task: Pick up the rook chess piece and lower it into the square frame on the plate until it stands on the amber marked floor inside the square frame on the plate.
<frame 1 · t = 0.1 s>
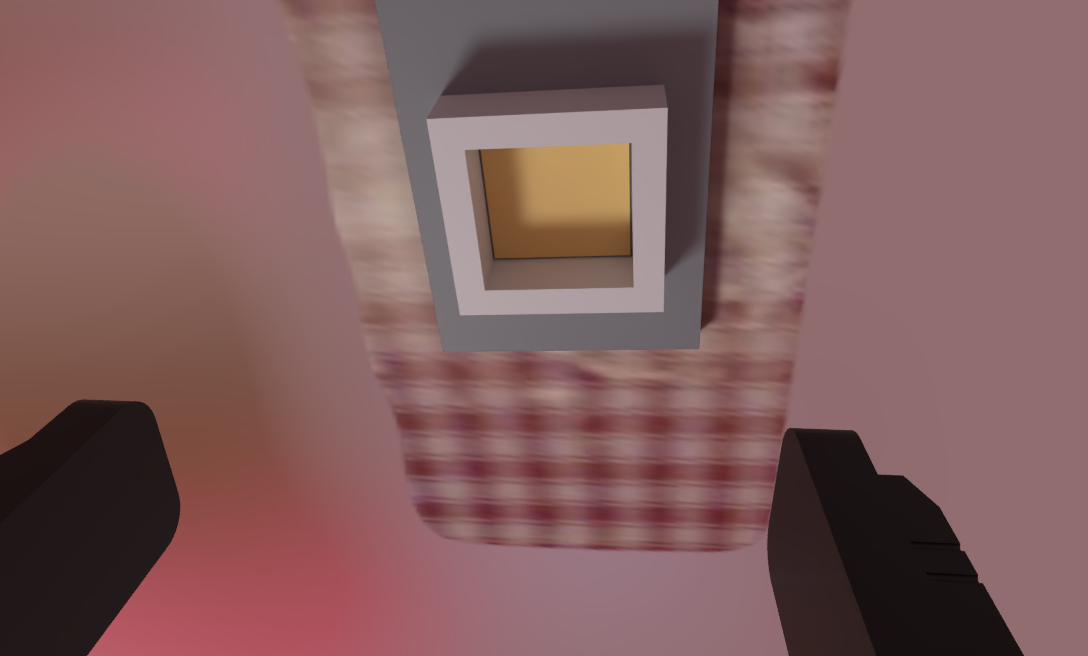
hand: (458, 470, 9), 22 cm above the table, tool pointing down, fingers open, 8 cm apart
square frame on plate: (559, 181, 31), on the table
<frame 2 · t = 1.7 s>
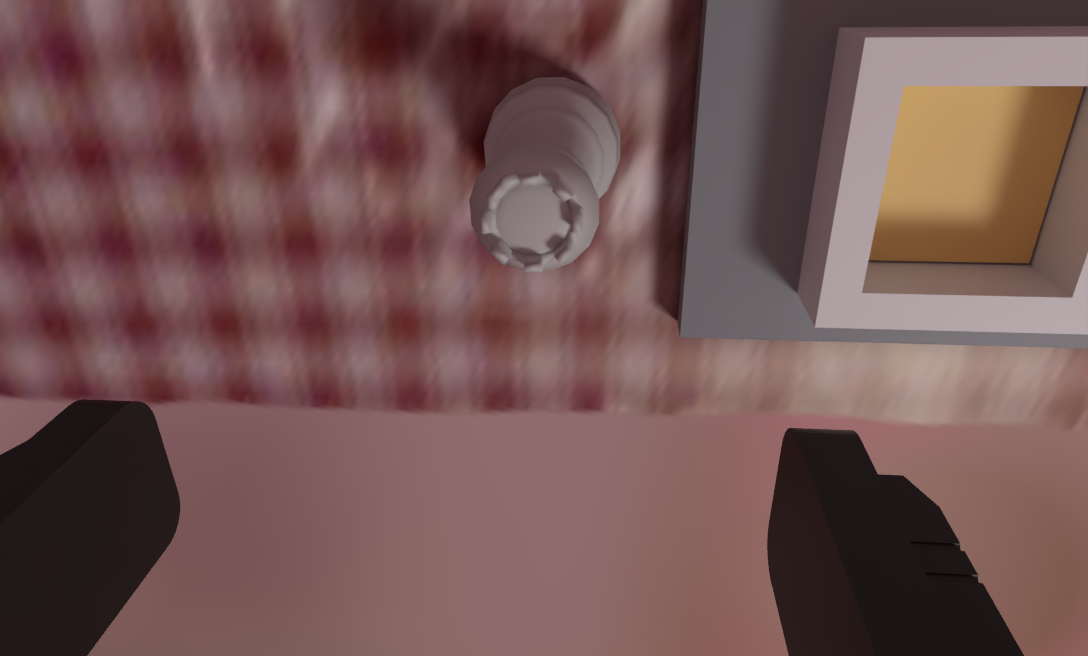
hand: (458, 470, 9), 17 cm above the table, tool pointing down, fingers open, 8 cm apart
rook chess piece: (554, 142, 25), on the table
square frame on plate: (941, 162, 24), on the table
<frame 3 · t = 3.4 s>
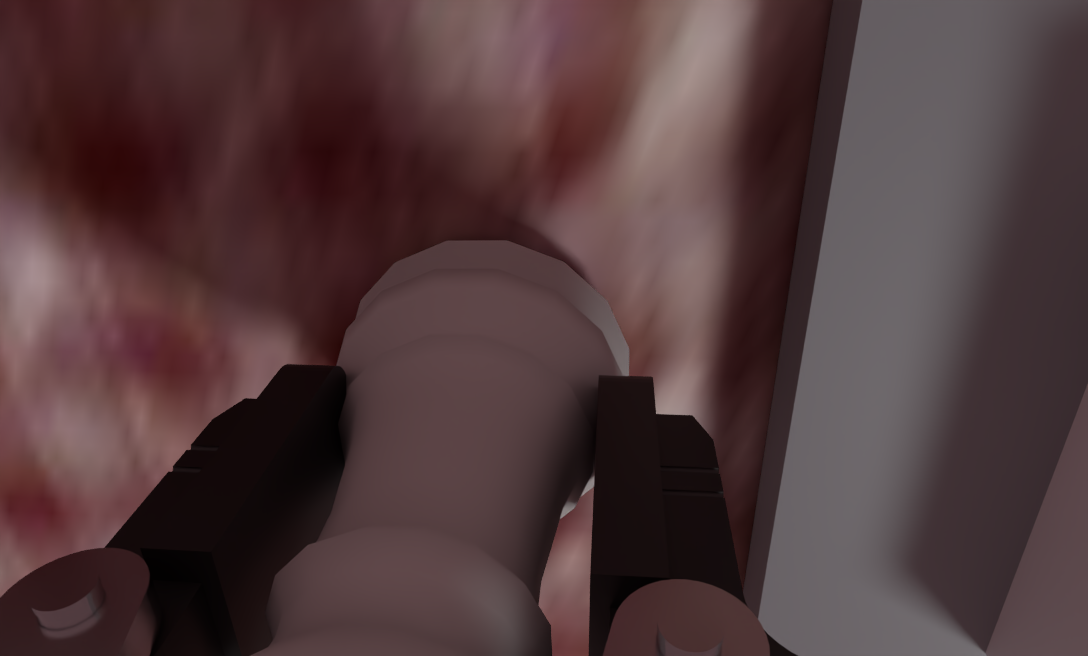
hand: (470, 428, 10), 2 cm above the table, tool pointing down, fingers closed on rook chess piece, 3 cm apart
rook chess piece: (494, 350, 12), on the table, touching gripper
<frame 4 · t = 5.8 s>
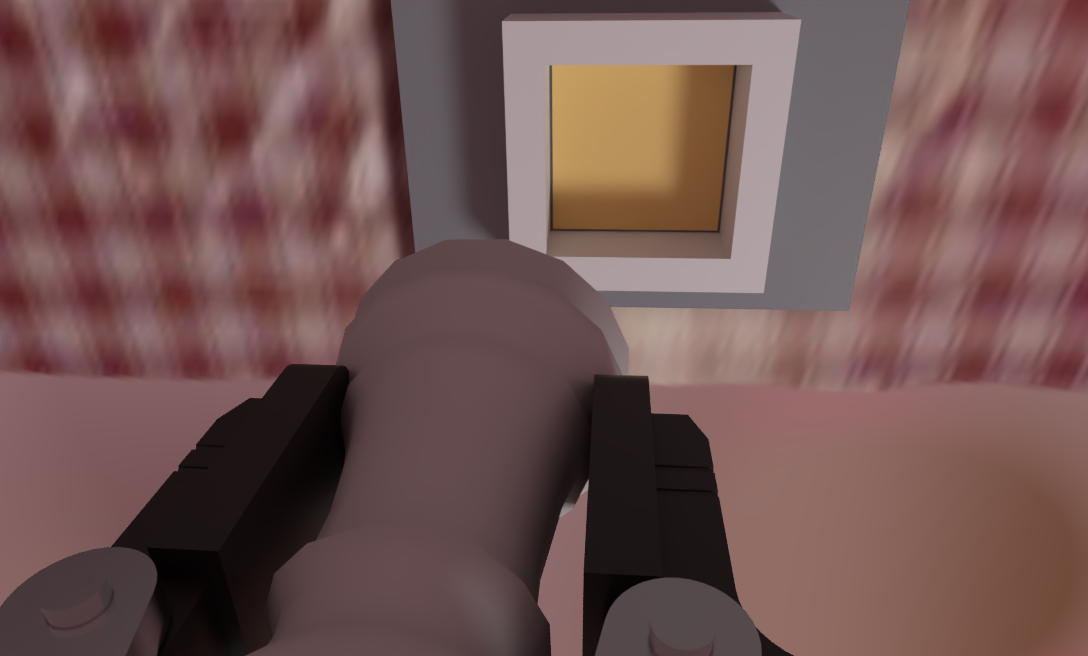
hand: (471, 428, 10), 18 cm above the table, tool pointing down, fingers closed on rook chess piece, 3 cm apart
rook chess piece: (493, 349, 12), point 16 cm above the table, touching gripper
square frame on plate: (636, 138, 26), on the table
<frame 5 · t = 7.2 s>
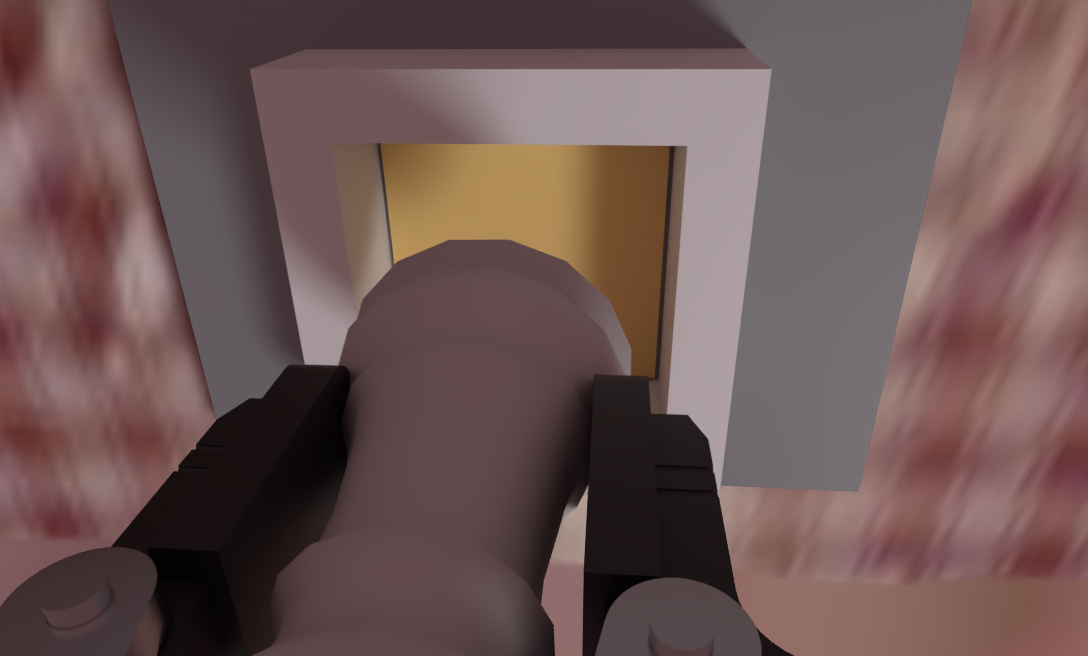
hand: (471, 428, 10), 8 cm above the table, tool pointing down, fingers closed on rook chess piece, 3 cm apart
rook chess piece: (496, 350, 12), point 5 cm above the table, touching gripper
square frame on plate: (531, 235, 17), on the table
when the fingers open (5 cm above the table, at t = 8.1 s): rook chess piece drops 1 cm, resting on square frame on plate.
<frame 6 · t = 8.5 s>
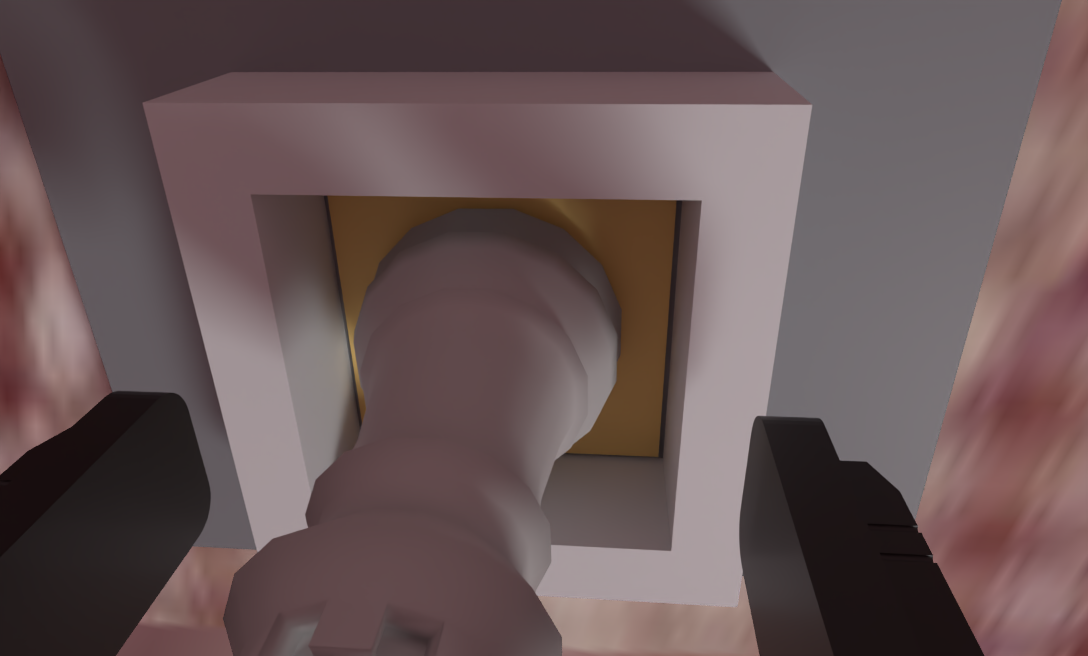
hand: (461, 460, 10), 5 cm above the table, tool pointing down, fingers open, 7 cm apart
rook chess piece: (498, 312, 13), point 1 cm above the table, touching square frame on plate
square frame on plate: (512, 288, 14), on the table
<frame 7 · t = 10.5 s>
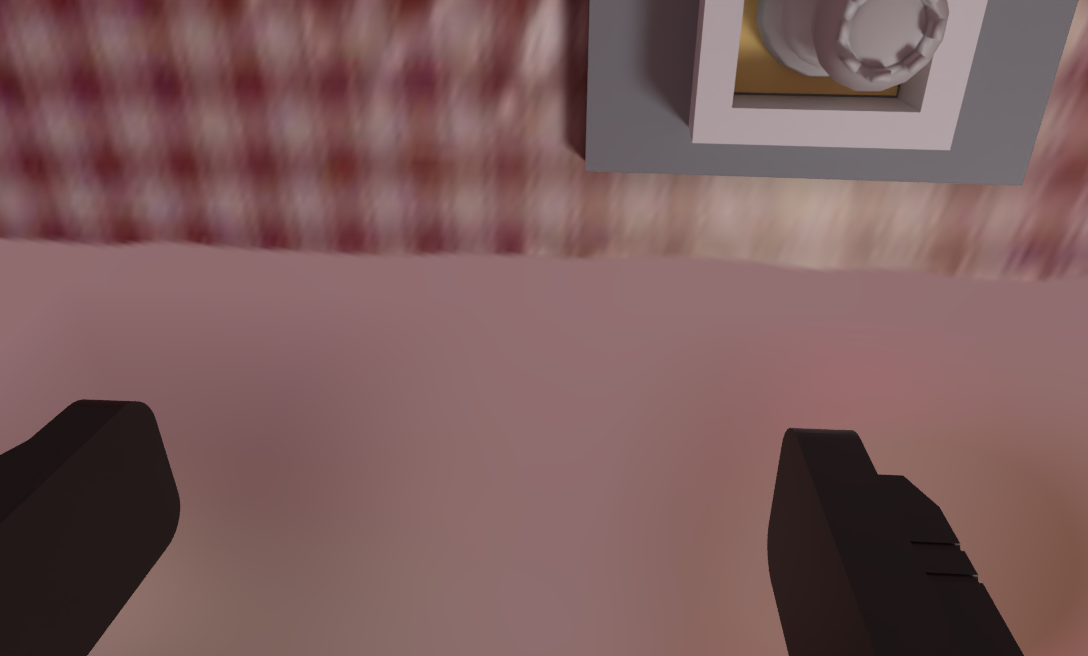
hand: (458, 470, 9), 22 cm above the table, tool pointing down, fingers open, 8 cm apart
rook chess piece: (820, 4, 25), point 1 cm above the table, touching square frame on plate
square frame on plate: (817, 2, 26), on the table
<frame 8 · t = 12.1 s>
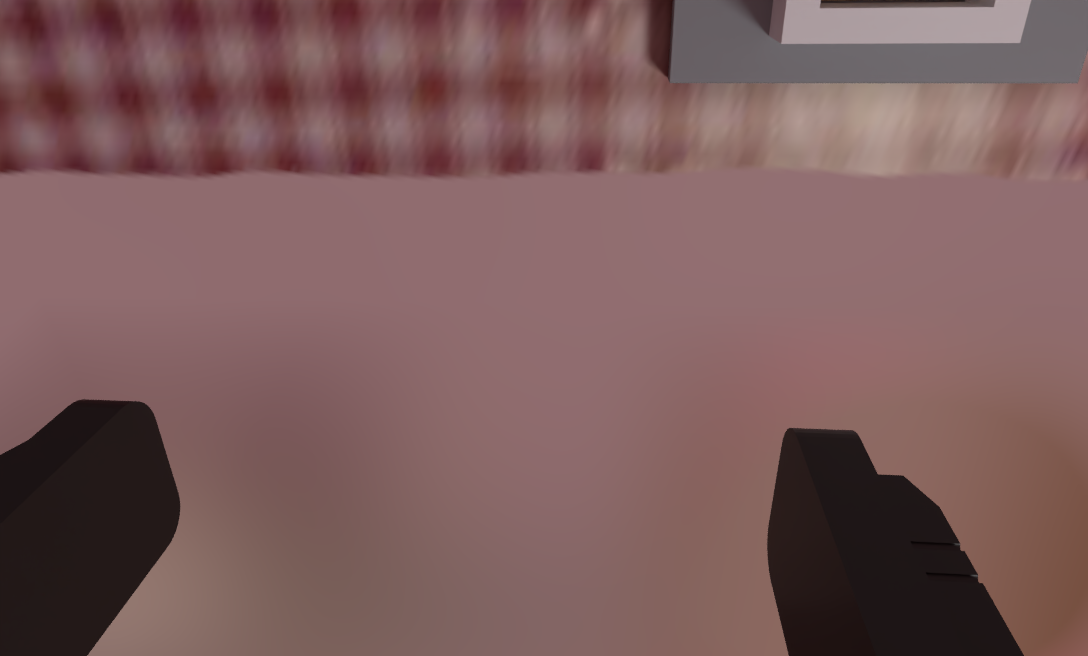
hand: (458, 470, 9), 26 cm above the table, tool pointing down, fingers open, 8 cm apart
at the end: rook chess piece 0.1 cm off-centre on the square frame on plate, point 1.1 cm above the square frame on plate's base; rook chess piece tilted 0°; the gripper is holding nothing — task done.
